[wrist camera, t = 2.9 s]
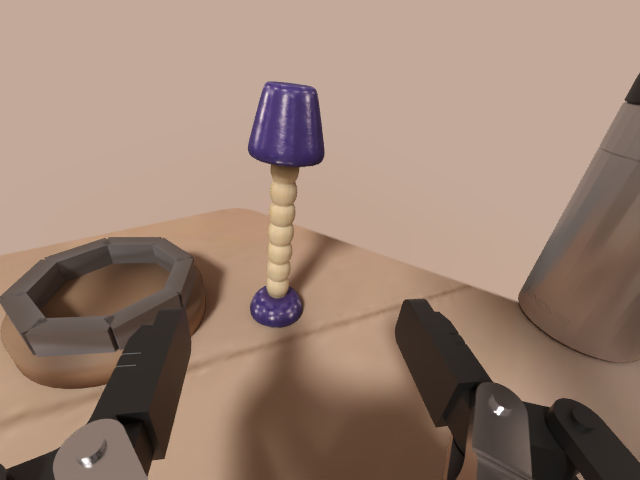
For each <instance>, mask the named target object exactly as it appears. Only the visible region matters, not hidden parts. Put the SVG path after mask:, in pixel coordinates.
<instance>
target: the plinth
mask: <svg viewBox="0 0 640 480" xmlns="http://www.w3.org/2000/svg"><path fill="white" fill-rule="evenodd" d="M0 304H1V305H2V307H3V309H4V310H5V312H6V315H5V318H4V320H3V322H2V326H1V340H2V342H3V345H4V347H5V348H6V350H7V351H8V353H9V355H10V356H11V358H12V359H13V361H14V362H15V364H16V366H17V367H18V369H19V370H20V371H21V372H22V373H23V375H25V376H26V377H27V378H29V379H30V380H32V381H34V382H36V383H38V384H41V385H45V386H49V387H53V388H63V389H78V388H88V387H96V386H100V385H105V384H107V383H108V381H109V379H110V377H111V375H112V373H113V370H114V368H116V364H117V362H118V360H119V358H120V356H122V352H123V350H124V348H125V346H126V343H127V341H128V339H129V338H130V337H131V336H132V335H133V334H134V333H135V332H136V331H137V330H138V329H139V328H140V327H141V326H142V325H153V323H154V321H155V318H156V316H157V314H158V311H159V310H160V309H162V308H185V309H186V313H187V319H188V324H189V330H190V335H191V336H192V335H193V333H194V332H195V331H196V329H197V328H198V326H199V324H200V322H201V320H202V318H203V315H204V312H205V306H206V303H205V293H204V286H203V279H202V276H201V273H200V271H199V270H198V268H197V267H196V266H195V265H194V260H193V257H192V256H191V255H190V254H188V253H187V252H185V251H184V250H182V249H180V248H179V247H177V246H176V245H174V244H173V243H171V242H169V241H168V240H166V239H165V238H163V239H161V237H109V238H108V239H106V238H103V239H100V240H97V241H94V242H91V243H88V244H85V245H82V246H79V247H76V248H73V249H70V250H67V251H64V252H61V253H58V254H54V255H51V256H48V257H45V260H40V261H39V262H38V263H37V264H35V265H34V266H33V267H32V268H31V269H30V270H29V271H28V272H27V273H25V274H24V275H23V276H22V277H21V278H20V279H19V280H18V281H17V282H16V283H14V284H13V285H12V286H11V287H10V288H9V289H8V290H7V291H6V292H4V293H3V294H2V295H1V296H0Z"/></svg>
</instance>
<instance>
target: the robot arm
mask: <svg viewBox="0 0 640 480" xmlns="http://www.w3.org/2000/svg"><path fill="white" fill-rule="evenodd" d="M625 101H627V103H623V104H622V106H621V107H620V109H619V111H618V113H617V115H616V117H615V118H614V120H613V122H612V124H611V126H610V128H609V129H608V131H607V133H606V135H605V137H604V139H603V141H602V142H601V144H600V147H599V148H598V150H597V152H596V154H595V156H594V157H593V159H592V161H591V163H590V165H589V167H588V168H587V170H586V172H585V174H584V176H583V178H582V179H581V181H580V183H579V185H578V187H577V189H576V191H575V192H574V194H573V196H572V198H571V200H570V201H569V203H568V205H567V207H566V209H565V211H564V212H563V214H562V216H561V218H560V220H559V222H558V223H557V225H556V227H555V229H554V231H553V233H552V235H551V236H550V238H549V240H548V242H547V244H546V246H545V247H544V249H543V251H542V253H541V255H540V256H539V258H538V260H537V262H536V264H535V265H534V267H533V269H532V271H531V273H530V275H529V276H528V278H527V280H526V282H525V284H524V286H523V288H522V289H521V291H520V293H519V297H518V300H519V304H520V306H521V308H522V310H523V311H524V313H525V314H526V315H527V316H528V318H529V319H530V320H531V321H532V322H533V323H534V324H535V325H537V326H538V327H539V328H540V329H541V330H543V331H544V332H545V333H547V334H548V335H550V336H551V337H552V338H554V339H556V340H558V341H559V342H561V343H563V344H564V345H566V346H568V347H570V348H573V349H575V350H577V351H579V352H581V353H584V354H587V355H589V356H592V357H595V358H599V359H603V360H607V361H612V362H622V363H624V362H633V361H635V360H638V359H640V74H639V75H638V77H637V78H636V80H635V82H634V84H633V85H632V87H631V89H630V91H629V93H628V95H627V96H626V98H625ZM395 337H396V342H397V344H398V346H399V349H400V351H401V353H402V355H403V357H404V359H405V362H406V364H407V366H408V368H409V370H410V373H411V375H412V377H413V379H414V381H415V383H416V386H417V388H418V390H419V392H420V394H421V396H422V399H423V401H424V403H425V405H426V407H427V410H428V412H429V414H430V416H431V418H432V420H433V423H434V425H435V427H442V426H448V427H449V429H450V431H451V435H450V438H449V443H448V450H447V456H446V463H445V469H444V476H443V480H579V479H578V478H577V476H576V475H577V474H578V473H579V472H580V473H581V475H582V476H583V478H584V479H585V480H640V463H639V462H638V460H637V459H636V458H635V457H634V456H633V455H632V453H631V452H630V451H629V450H628V449H627V448H626V447H625V445H624V444H623V443H622V442H621V441H620V440H619V439H618V437H617V436H616V435H615V434H614V433H613V432H612V431H611V429H610V428H609V427H608V426H607V425H606V424H605V422H604V421H603V420H602V419H601V418H600V417H599V416H598V415H597V414H596V413H595V412H593V411H592V410H591V409H589V408H588V407H586V406H585V405H583V404H581V403H579V402H577V401H574V400H571V399H566V398H562V399H558V400H556V401H555V402H554V404H553V405H552V406H551V407H545V406H541V405H536V404H532V403H528V402H523V401H521V400H520V398H519V397H518V396H517V395H516V394H515V393H514V392H512V391H511V390H510V389H508V388H506V387H505V386H503V385H500V384H498V383H494V382H493V381H492V380H491V379H490V377H489V376H488V374H487V373H486V371H485V370H484V369H483V367H482V366H481V364H480V363H479V361H478V360H477V359H476V357H475V356H474V354H473V353H472V351H471V350H470V349H469V347H468V346H467V344H465V341H464V340H463V339H462V337H461V336H460V335H459V334H458V331H457V330H456V329H455V327H454V326H453V324H452V323H451V321H449V320H448V319H447V318H446V317H445V316H443V315H442V314H441V313H440V312H434V311H433V309H432V308H431V306H430V305H429V303H428V302H427V300H425V299H406V300H404V301H403V304H402V307H401V310H400V314H399V317H398V320H397V324H396V327H395ZM190 354H191V335H190V330H189V324H188V319H187V313H186V309H185V308H162V309H160V310H159V311H158V314H157V316H156V318H155V321H154V323H153V325H142V326H141V327H140V328H139V329H138V330H137V331H136V332H135V333H134V334H133V335H132V336H131V337H130V338H129V339H128V341H127V343H126V346H125V348H124V350H123V352H122V356H120V358H119V360H118V362H117V364H116V368H114V370H113V373H112V375H111V377H110V379H109V381H108V383H107V385H106V387H105V389H104V391H103V393H102V395H101V397H100V400H99V402H98V404H97V406H96V408H95V410H94V412H93V414H92V416H91V418H90V420H89V421H88V423H87V424H86V425H85V426H83V427H81V428H80V429H78V430H77V431H76V432H74V433H73V434H72V435H71V436H70V437H69V438H68V439H67V440H66V441H65V442H64V443H63V444H62V446H61V447H59V448H58V449H56V450H54V451H52V452H49V453H47V454H45V455H42V456H39V457H37V458H34V459H32V460H29V461H27V462H24V463H21V464H19V465H16V466H14V467H11V468H9V469H5V468H4V466H2V465H1V464H0V480H148V478H147V477H148V473H149V469H150V466H151V462H152V460H159V459H165V455H166V451H167V447H168V443H169V439H170V435H171V431H172V427H173V423H174V419H175V415H176V411H177V407H178V403H179V399H180V395H181V391H182V387H183V383H184V379H185V375H186V371H187V367H188V362H189V358H190Z"/></svg>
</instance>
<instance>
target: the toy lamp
mask: <svg viewBox="0 0 640 480" xmlns="http://www.w3.org/2000/svg"><path fill="white" fill-rule="evenodd" d="M248 151H249V154H250V155H251V156H252V157H253V158H255V159H257V160H259V161H261V162H265V163H268V164H271V174H272V177H273V181H272V183H271V187H270V196H271V199H272V203H271V205H270V209H269V216H270V220H271V223H270V226H269V229H268V236H269V240H270V243H269V246H268V257H269V261H268V264H267V273H268V276H269V277H268V279H267V282H266V286H264V287H263V288H261V289H260V290H259V291H258V292H257V293H256V294H255V295H254V297H253V299H252V302H251V306H250V311H251V315H252V317H253V318H254V319H255V320H256V321H257V322H258V323H260V324H262V325H265V326H269V327H284V326H288V325H291V324H292V323H294V322H295V321H296V320H298V318H299V317H300V315H301V313H302V302H301V299H300V297H299V295H298V294H297V292H296V291H295V290H294V289H292V288H291V287H289V280H288V276H289V274H290V268H291V267H290V262H289V260H290V258H291V256H292V246H291V241H292V239H293V235H294V229H293V225H292V222H293V221H294V218H295V206H294V204H293V203H294V202H295V200H296V197H297V186H296V183H295V181H296V179H297V177H298V174H299V167H306V166H314V165H316V164H319V163H321V162H322V160H323V158H324V142H323V134H322V124H321V117H320V108H319V101H318V94H317V91H316V89H315V88H313V87H311V86H306V85H299V84H292V83H284V82H267V83H266V84H265V85H264V88H263V90H262V94H261V97H260V101H259V105H258V109H257V112H256V116H255V120H254V124H253V128H252V132H251V136H250V139H249V144H248Z"/></svg>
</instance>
